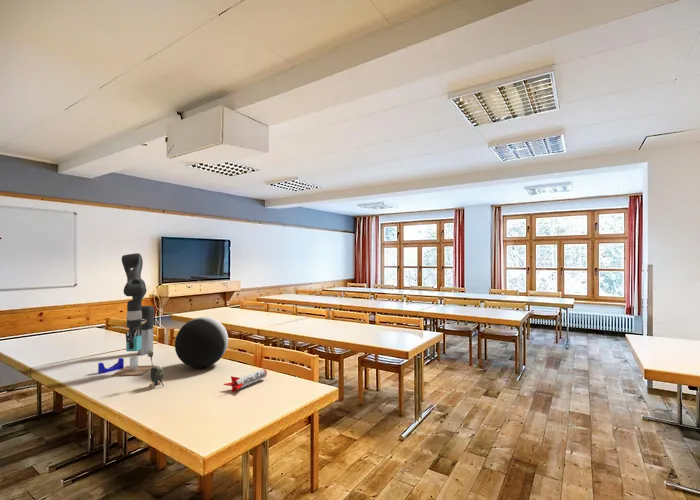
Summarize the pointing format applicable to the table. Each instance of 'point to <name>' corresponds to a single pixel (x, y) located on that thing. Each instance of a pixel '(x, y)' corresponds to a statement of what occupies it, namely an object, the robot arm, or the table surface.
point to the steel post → (134, 363)
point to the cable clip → (116, 366)
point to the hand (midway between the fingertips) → (133, 347)
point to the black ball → (201, 342)
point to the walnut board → (138, 372)
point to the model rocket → (246, 379)
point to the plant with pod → (155, 372)
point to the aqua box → (135, 344)
